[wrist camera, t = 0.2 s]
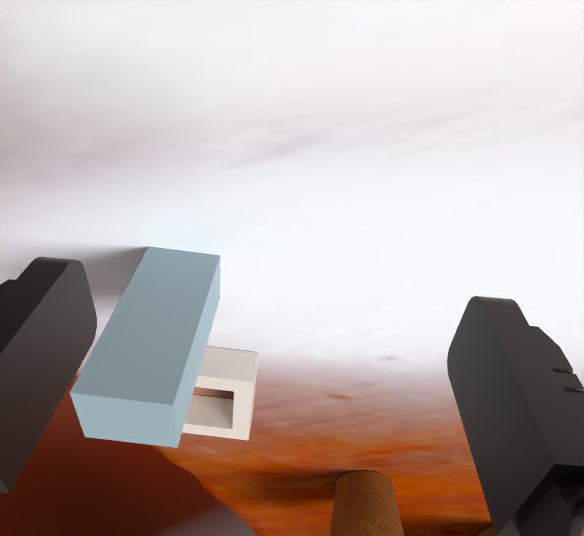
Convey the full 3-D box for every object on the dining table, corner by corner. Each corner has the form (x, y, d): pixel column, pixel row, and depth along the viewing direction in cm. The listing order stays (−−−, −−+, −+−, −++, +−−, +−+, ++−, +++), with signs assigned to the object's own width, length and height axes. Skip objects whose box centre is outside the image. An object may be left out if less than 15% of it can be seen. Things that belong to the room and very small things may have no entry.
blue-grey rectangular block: (148, 246, 31) (69, 392, 21) (220, 255, 31) (173, 405, 22) (153, 289, 33) (85, 436, 24) (219, 297, 33) (177, 447, 24)
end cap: (143, 338, 37) (130, 367, 34) (258, 352, 37) (253, 382, 35) (152, 398, 42) (142, 427, 40) (252, 411, 42) (248, 440, 40)
